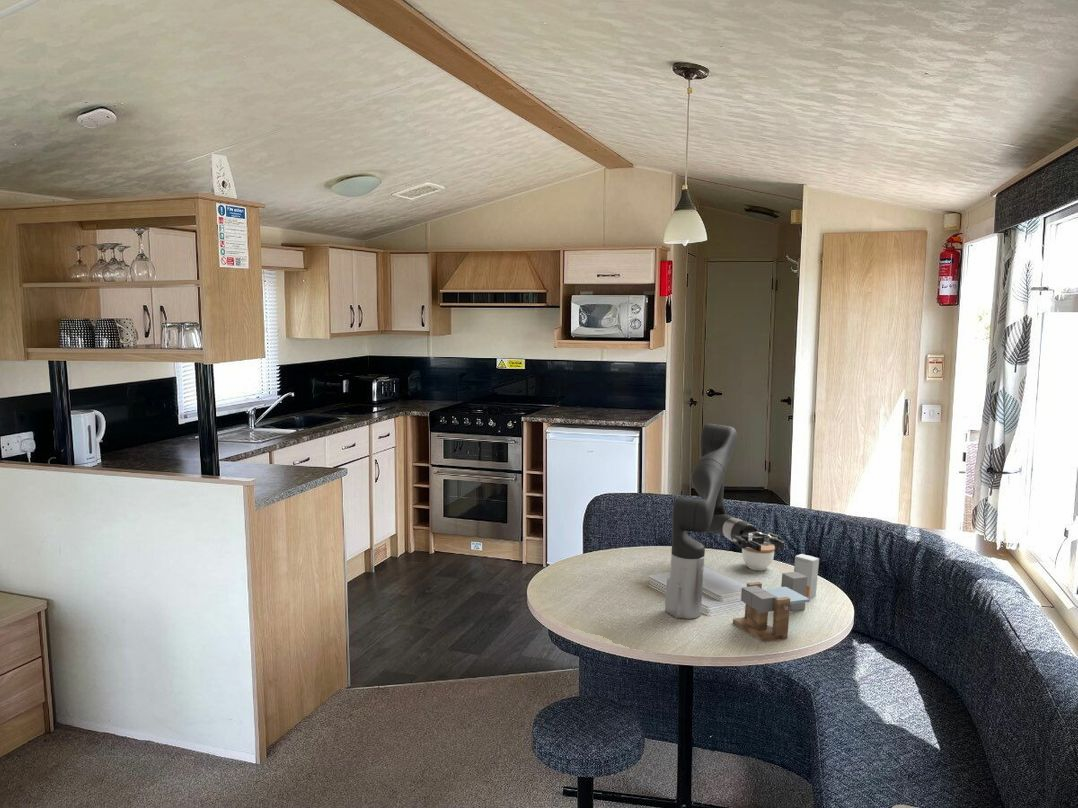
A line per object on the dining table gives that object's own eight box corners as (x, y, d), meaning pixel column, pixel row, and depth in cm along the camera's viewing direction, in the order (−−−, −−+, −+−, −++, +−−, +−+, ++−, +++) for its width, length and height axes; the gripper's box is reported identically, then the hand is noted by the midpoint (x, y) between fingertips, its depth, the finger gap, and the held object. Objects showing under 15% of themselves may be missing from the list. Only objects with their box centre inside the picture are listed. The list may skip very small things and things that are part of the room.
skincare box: (791, 593, 251) (794, 555, 250) (798, 590, 254) (801, 553, 253) (809, 599, 247) (813, 560, 245) (816, 595, 250) (819, 558, 248)
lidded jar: (774, 574, 269) (776, 546, 268) (741, 570, 271) (743, 543, 270) (772, 564, 279) (774, 537, 278) (739, 561, 281) (741, 534, 280)
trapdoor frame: (790, 640, 216) (793, 600, 214) (766, 643, 213) (769, 603, 211) (753, 618, 230) (756, 580, 229) (730, 621, 227) (732, 583, 226)
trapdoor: (809, 607, 220) (810, 593, 220) (762, 613, 215) (763, 599, 214) (784, 594, 230) (785, 581, 229) (739, 600, 224) (740, 586, 223)
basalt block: (790, 612, 236) (793, 578, 235) (779, 605, 240) (782, 573, 239) (804, 610, 238) (807, 577, 236) (793, 604, 242) (796, 571, 241)
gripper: (721, 522, 259) (753, 537, 244) (758, 518, 264) (791, 533, 250) (720, 545, 260) (751, 561, 245) (757, 541, 266) (790, 556, 251)
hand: (771, 547), depth 247 cm, fingers open, 8 cm apart
